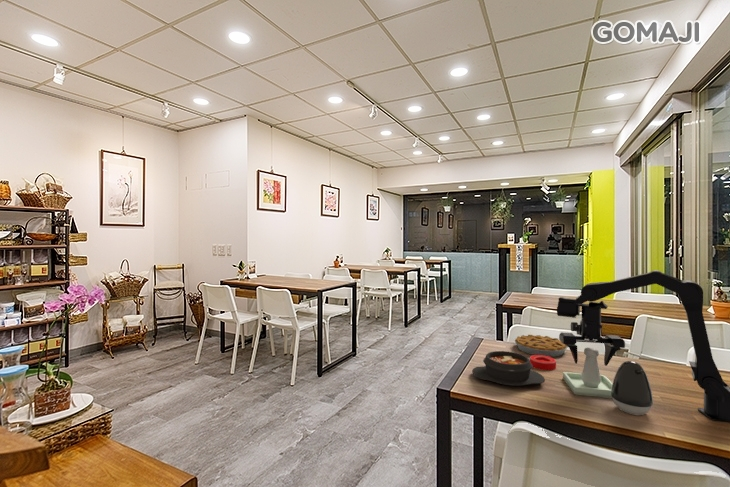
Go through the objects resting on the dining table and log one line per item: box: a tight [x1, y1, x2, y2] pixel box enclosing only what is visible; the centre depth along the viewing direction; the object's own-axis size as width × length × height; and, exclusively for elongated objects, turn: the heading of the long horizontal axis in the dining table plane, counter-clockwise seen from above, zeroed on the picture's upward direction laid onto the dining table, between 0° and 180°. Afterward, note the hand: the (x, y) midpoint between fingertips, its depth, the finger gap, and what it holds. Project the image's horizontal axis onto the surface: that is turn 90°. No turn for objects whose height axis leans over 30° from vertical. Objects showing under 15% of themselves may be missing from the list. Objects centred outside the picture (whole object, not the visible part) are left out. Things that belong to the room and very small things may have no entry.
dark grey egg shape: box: [611, 360, 654, 416], centre depth 108 cm, size 10×10×15 cm
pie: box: [514, 334, 569, 358], centre depth 165 cm, size 22×22×5 cm
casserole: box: [471, 350, 546, 387], centre depth 132 cm, size 25×19×8 cm
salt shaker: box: [581, 347, 601, 388], centre depth 124 cm, size 6×6×13 cm
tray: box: [562, 371, 613, 399], centre depth 124 cm, size 14×14×2 cm
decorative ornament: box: [529, 354, 557, 371], centre depth 145 cm, size 10×10×3 cm
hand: (590, 364), depth 124 cm, fingers open, 9 cm apart
